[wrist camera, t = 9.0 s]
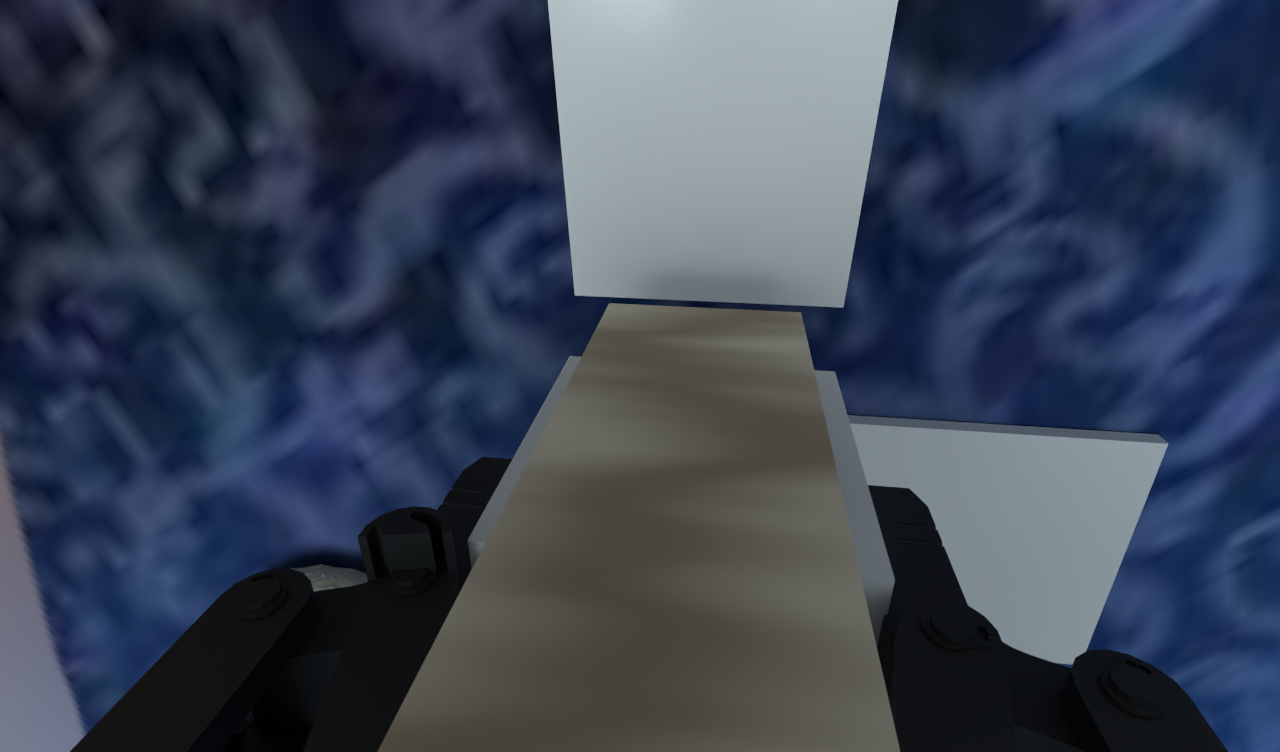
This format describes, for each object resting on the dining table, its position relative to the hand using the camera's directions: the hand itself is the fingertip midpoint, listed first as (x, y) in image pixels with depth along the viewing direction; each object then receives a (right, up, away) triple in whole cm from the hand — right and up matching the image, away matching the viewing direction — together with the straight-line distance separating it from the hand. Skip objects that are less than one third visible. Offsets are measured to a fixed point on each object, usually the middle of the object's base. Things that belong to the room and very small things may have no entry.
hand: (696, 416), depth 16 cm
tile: (+1, +4, +5) cm, 6 cm away
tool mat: (+11, -5, +9) cm, 15 cm away
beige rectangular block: (0, 0, +1) cm, 1 cm away
